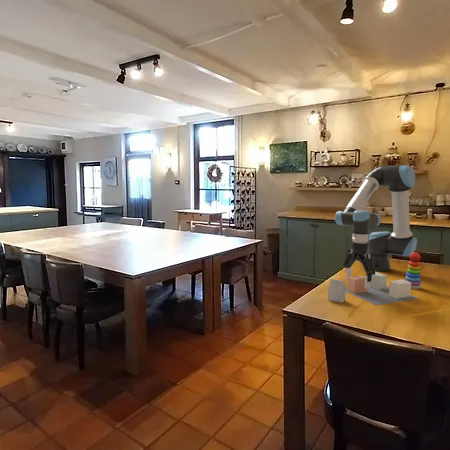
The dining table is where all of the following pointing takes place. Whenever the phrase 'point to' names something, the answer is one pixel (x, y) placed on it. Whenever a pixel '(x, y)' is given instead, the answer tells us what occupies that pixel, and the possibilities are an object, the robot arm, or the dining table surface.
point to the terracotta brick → (356, 284)
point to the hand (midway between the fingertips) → (357, 283)
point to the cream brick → (400, 289)
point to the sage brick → (378, 281)
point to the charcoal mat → (379, 296)
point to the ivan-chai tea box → (336, 290)
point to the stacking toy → (414, 271)
